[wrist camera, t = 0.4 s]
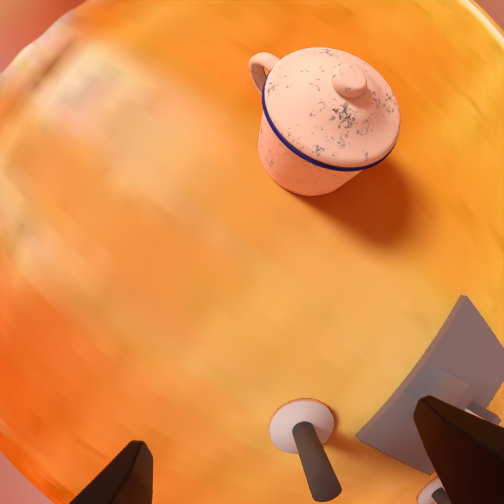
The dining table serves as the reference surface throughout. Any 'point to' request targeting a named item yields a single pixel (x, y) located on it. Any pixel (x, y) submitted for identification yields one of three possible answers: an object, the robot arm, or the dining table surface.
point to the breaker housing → (441, 385)
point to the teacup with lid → (322, 118)
